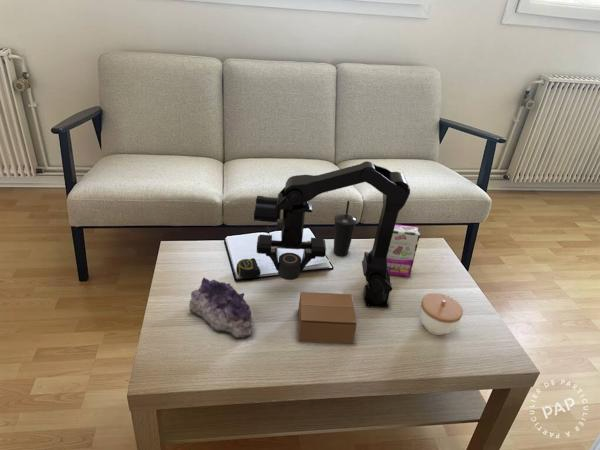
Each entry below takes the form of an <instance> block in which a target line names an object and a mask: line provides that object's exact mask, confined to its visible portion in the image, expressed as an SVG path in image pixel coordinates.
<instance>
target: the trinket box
mask: <svg viewBox="0 0 600 450" xmlns="http://www.w3.org/2000/svg"><path fill="white" fill-rule="evenodd" d="M463 314H464V309H463V307H462V305H461V304H460V303H459V302H458V301H457V300H456V299H455V298H453V297H452V296H450V295H447V294H443V293H440V292H431V293H428V294H425V295H424V296H423V297H422V299H421V302H420V307H419V318H420V322H421V324H422V325H423V326H424V328H425V330H426V331H427V332H429V333H430V334H432V335H436V336H442V335H443V336H444V335H447V334H450V333H451V332H453V331H454V330H455V329H456V328H457V326H458V325H459V323H460V321H461V318H462V317H463Z"/></svg>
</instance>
